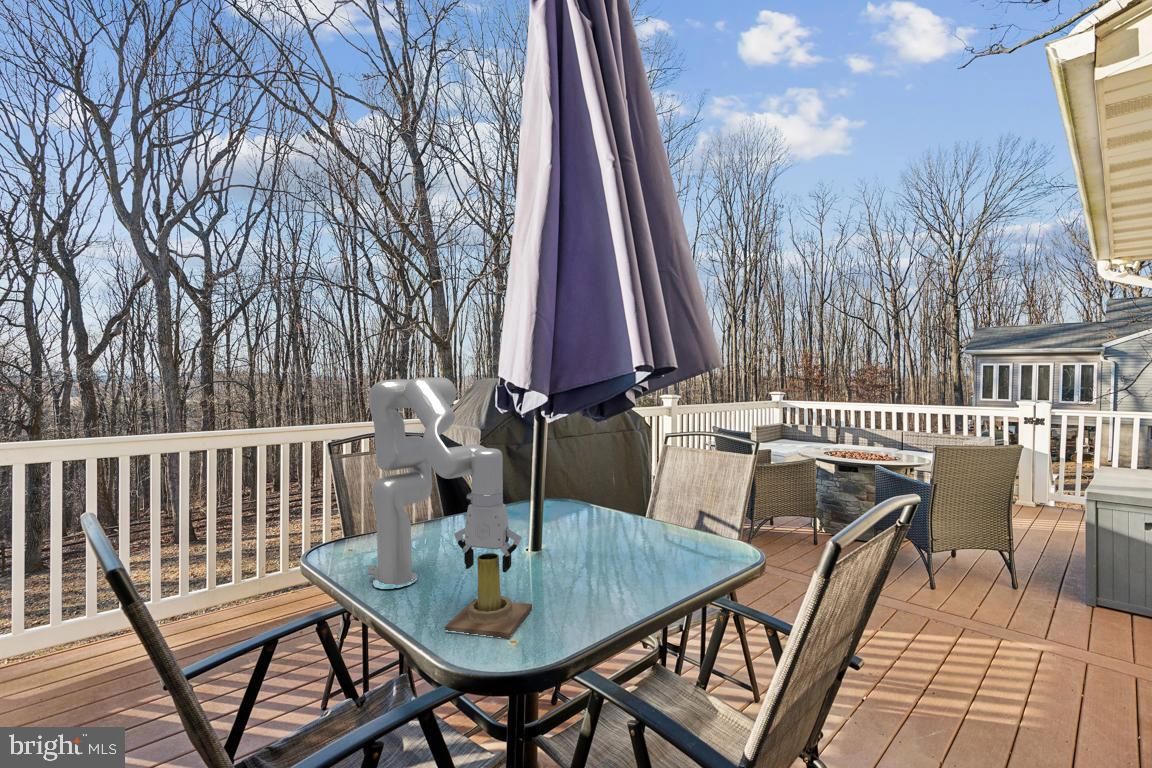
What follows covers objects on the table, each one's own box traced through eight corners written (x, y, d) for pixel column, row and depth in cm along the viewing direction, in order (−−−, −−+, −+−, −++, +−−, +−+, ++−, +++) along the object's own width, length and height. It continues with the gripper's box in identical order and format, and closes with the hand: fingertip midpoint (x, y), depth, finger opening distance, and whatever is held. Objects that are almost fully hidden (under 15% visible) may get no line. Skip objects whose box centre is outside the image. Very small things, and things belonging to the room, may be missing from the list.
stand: (445, 632, 125) (444, 615, 125) (474, 604, 141) (474, 589, 141) (509, 639, 121) (508, 621, 121) (532, 609, 137) (531, 594, 137)
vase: (471, 616, 130) (470, 557, 130) (489, 607, 135) (487, 550, 135) (490, 622, 127) (488, 562, 127) (507, 612, 132) (506, 554, 132)
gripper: (447, 501, 129) (448, 571, 130) (515, 505, 125) (515, 577, 125) (461, 494, 137) (462, 560, 137) (525, 497, 132) (526, 566, 133)
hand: (487, 568), depth 131 cm, fingers open, 9 cm apart
